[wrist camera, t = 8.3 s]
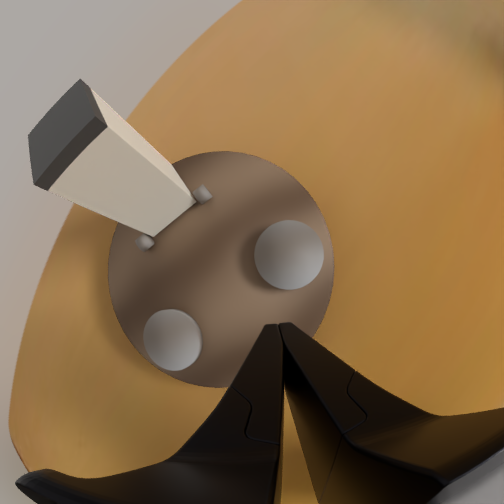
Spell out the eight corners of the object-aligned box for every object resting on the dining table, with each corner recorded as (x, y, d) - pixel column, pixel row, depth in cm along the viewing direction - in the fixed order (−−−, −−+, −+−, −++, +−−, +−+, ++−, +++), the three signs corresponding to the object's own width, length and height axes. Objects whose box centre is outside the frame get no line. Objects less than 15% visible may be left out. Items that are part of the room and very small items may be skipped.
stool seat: (374, 292, 17) (389, 292, 14) (197, 409, 18) (178, 429, 15) (243, 131, 20) (232, 105, 17) (101, 248, 21) (73, 242, 18)
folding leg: (196, 201, 17) (95, 116, 8) (153, 236, 18) (33, 184, 8) (171, 164, 18) (80, 78, 9) (132, 197, 18) (28, 135, 9)
